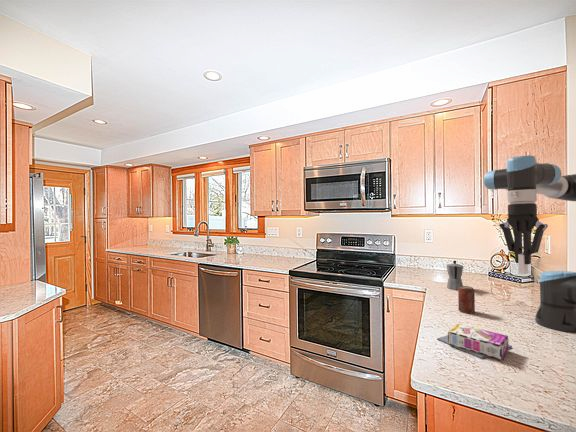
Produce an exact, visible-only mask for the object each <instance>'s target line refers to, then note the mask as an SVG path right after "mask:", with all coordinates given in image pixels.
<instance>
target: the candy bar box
mask: <svg viewBox="0 0 576 432" xmlns="http://www.w3.org/2000/svg"><path fill="white" fill-rule="evenodd" d="M447 335H448V344H450V345H453V346H457V347H460V348H464V349H467V350H471V351H474V352H477V353H481V354H484V355H488V356H487V357H491V358H495V359H497V360H503V358H504V357H505V355H506V354H507V352H508V350H509V349H508V345H509V335H506V334H502V333H498V332H494V331H489V330H485V329H480V328H478V327H477V328H476V327H473V326H469V325H465V324H464V325H463V324H460V323H457V324H456V325H454V326H453V327H452V328H451V329H450V330H448V331H447ZM448 344H447V345H448ZM450 345H449V346H450ZM453 346H452V347H453Z"/></svg>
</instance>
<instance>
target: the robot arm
mask: <svg viewBox="0 0 576 432" xmlns="http://www.w3.org/2000/svg"><path fill="white" fill-rule="evenodd" d="M483 184H484V186H485V188H486V189H487V190H495V191H497V190H507V203H509V204H507V218H506V221H504V222H503V223H500V224H499V227H500V228H501V230H502V231H503V233H502V234H503V236H504V239H505V242H506V246H507V250H508V252H513V253H514V254H515V257H514V258H515V261H514V262H515V263H516V264H518V274H520V275H528V274H529V265H531V264H532V254H536V253H539V250H540V246H541V242H542V240H543V236H544V232H545V231H546V229H547V228H548V224H547V223H543V222H540V221H539V218H538V215H537V214H538V211H537V210H538V207H537V206H538V204H537V203H536V202H537V199H538V198H537V197H538V196H537V195H543V196H544V197H545V198H548V199H549V198H550V199H555V200H562V201H568V202H569V201H570V202H576V173H575V174H567V175H562V170H561V168H560V167H559V166H557V165H556V164H554V163H553V164H552V163H547V162H546V163H537V158H536V156H534V155H520V156H514V157H509V158H508V159H507V162H506V168H501V169H494V170H490V171H487V172H486V173H485V174H484V177H483ZM510 227H511V228H510ZM534 228H536V230H535V232H534V234H533V235H534V236H533V238H532V233H533V229H534ZM511 229H512V231H511ZM512 233H513V234H514V235H513V234H512ZM539 300H540V301H539V302H540V304H539V306H538V309H537V311H536V313H535V316H534V317H535V318H534V319H535V323H536V324H538V325H540V326H542V327H544V328H545V327H546V328H548V329H551V330H557V331H561V332H567V333H568V332H569V333H576V271H568V270H549V271H542V272H541V273H540V276H539Z"/></svg>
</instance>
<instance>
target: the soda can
mask: <svg viewBox="0 0 576 432" xmlns="http://www.w3.org/2000/svg"><path fill="white" fill-rule="evenodd" d="M457 291H458V293H457V295H458V299H457V300H458V311H459V312H461V313H464V314H470V315H471V314H474V313H475V311H476V309H475V308H476V304H475V301H476V300H475V299H476V297H475V296H476V295H475V293H476V292H475V289H474V287H472V286H469V285H468V286H467V285H463V286H460V287H459V288H458V290H457Z"/></svg>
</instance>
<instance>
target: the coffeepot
mask: <svg viewBox="0 0 576 432" xmlns="http://www.w3.org/2000/svg"><path fill="white" fill-rule="evenodd" d="M463 269H464V265H462V264H458V263H457V261H456V260H453V263H449V264H448V263H447V264H446V270H447V274H448V279H447V285H446V288H447V289H448V290H452V291H458V288H459V287H460V286H464V285H463V280H462V276H463Z"/></svg>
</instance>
